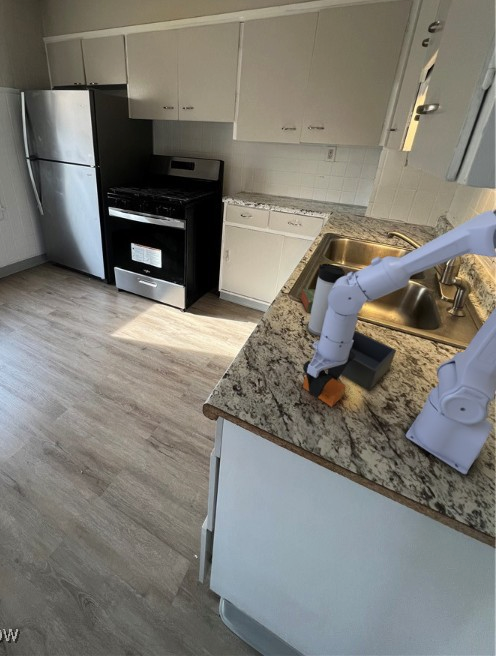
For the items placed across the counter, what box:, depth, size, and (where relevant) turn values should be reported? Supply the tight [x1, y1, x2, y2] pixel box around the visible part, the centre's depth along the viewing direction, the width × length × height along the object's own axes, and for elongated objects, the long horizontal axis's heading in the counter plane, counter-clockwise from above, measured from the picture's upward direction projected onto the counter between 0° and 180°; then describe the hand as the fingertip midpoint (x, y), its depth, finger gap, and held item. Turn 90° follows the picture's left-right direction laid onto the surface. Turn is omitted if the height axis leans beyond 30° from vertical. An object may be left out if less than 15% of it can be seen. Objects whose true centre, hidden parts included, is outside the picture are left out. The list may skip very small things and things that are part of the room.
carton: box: [300, 288, 316, 313], centre depth 100 cm, size 8×16×4 cm, turn 89°
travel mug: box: [307, 262, 346, 337], centre depth 85 cm, size 6×7×20 cm
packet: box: [302, 375, 346, 408], centre depth 68 cm, size 7×4×3 cm, turn 41°
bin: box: [341, 329, 397, 392], centre depth 76 cm, size 13×11×6 cm
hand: (323, 385), depth 68 cm, fingers open, 7 cm apart
